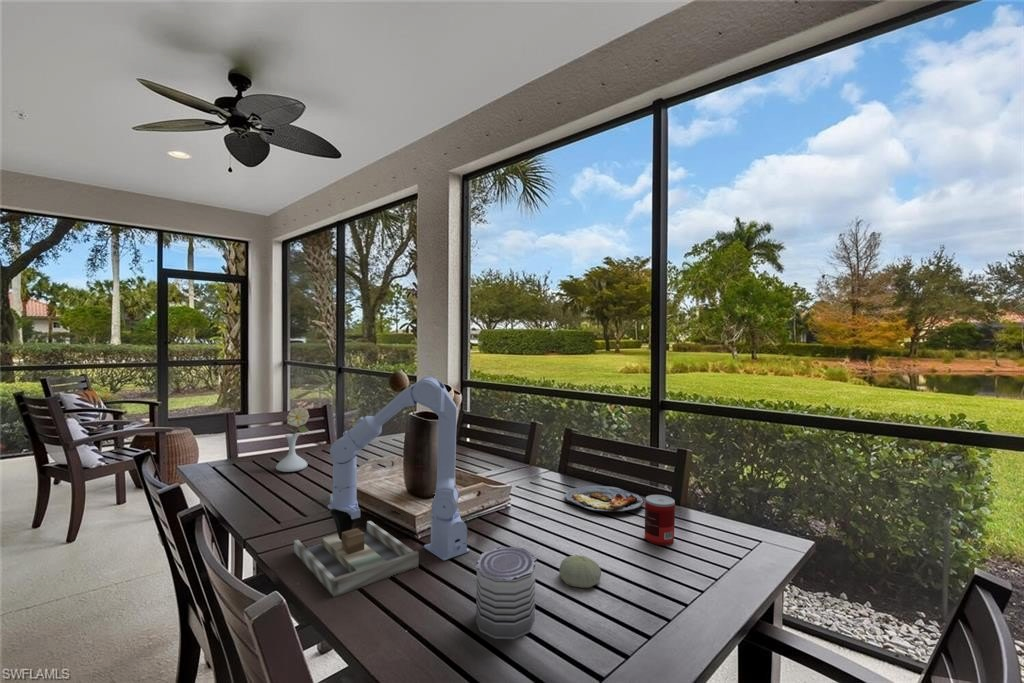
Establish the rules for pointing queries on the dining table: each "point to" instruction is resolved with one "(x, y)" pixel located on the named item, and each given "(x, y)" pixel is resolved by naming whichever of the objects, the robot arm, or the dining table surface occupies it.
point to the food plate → (604, 498)
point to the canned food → (659, 519)
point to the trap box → (357, 560)
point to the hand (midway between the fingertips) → (344, 538)
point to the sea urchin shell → (580, 571)
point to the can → (505, 592)
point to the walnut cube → (352, 541)
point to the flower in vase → (292, 459)
